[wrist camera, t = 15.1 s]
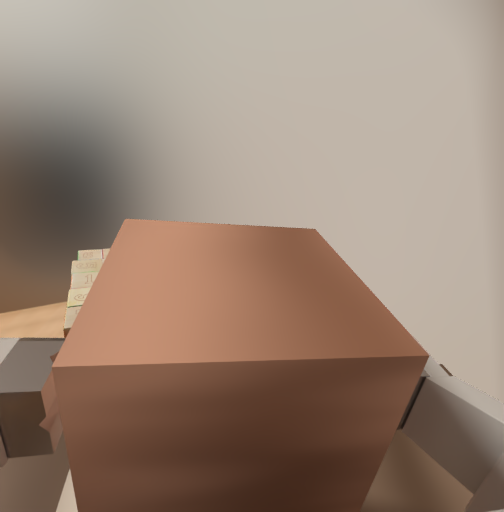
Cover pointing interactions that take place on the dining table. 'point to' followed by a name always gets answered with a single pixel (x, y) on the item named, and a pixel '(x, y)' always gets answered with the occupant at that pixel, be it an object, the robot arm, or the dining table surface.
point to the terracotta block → (230, 374)
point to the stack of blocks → (82, 282)
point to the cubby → (374, 508)
